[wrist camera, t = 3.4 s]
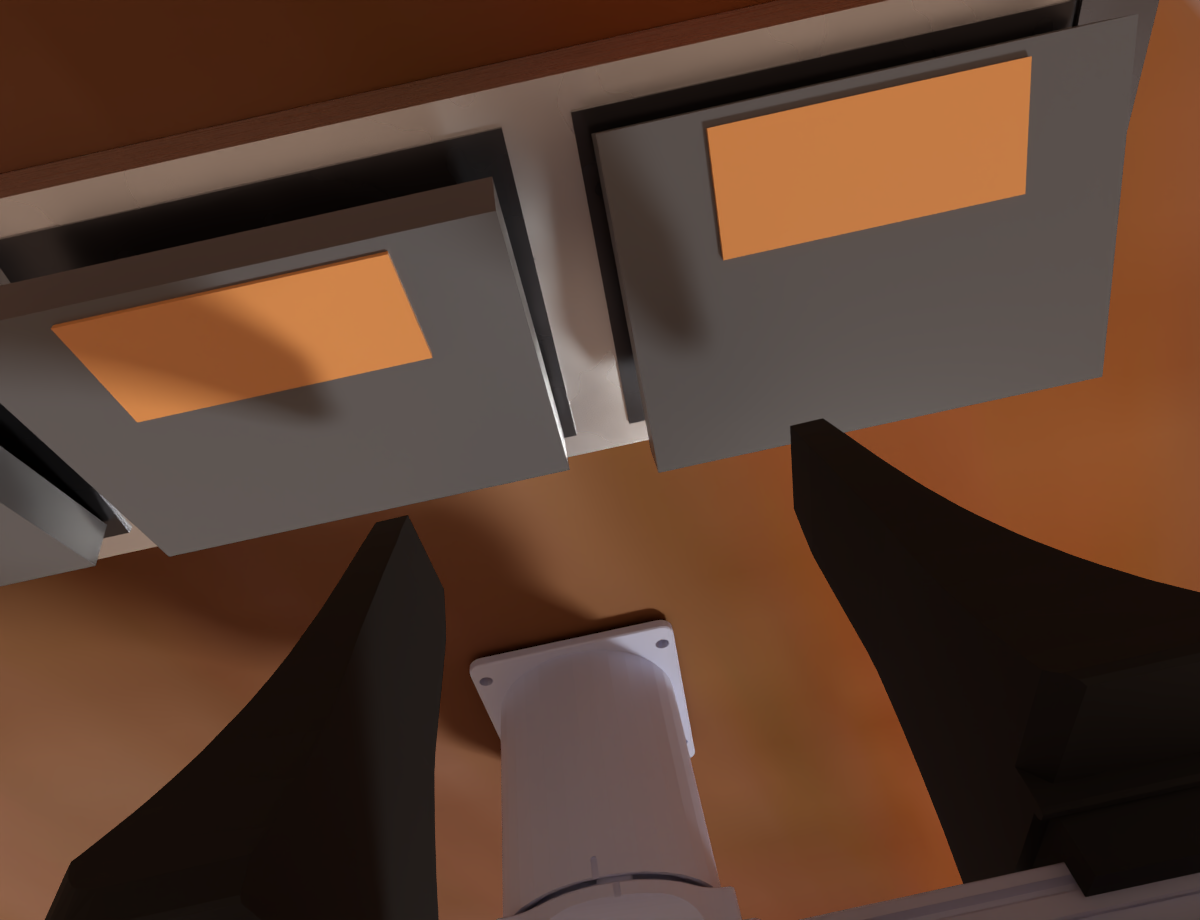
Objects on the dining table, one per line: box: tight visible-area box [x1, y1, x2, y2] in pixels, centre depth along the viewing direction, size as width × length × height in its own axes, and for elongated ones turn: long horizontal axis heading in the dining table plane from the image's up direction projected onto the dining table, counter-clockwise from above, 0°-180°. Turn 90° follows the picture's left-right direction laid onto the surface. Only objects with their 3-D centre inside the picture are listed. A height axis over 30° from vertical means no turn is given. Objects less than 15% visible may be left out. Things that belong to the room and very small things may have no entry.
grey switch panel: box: [0, 0, 1159, 559], centre depth 18 cm, size 9×37×3 cm, turn 100°
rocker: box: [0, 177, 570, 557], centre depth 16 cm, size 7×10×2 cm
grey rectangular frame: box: [591, 14, 1138, 472], centre depth 15 cm, size 7×10×2 cm
